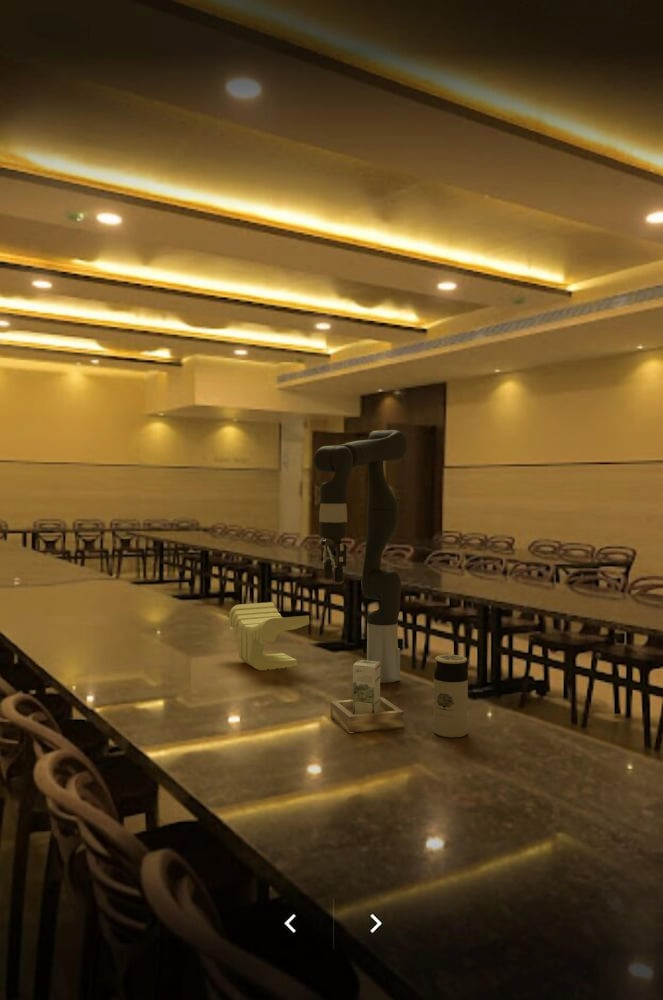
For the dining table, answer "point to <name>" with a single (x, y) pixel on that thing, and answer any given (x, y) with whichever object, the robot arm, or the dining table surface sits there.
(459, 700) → the travel mug
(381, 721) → the socket block
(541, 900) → the dining table surface
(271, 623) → the slatted curved stool
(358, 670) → the syrup box
